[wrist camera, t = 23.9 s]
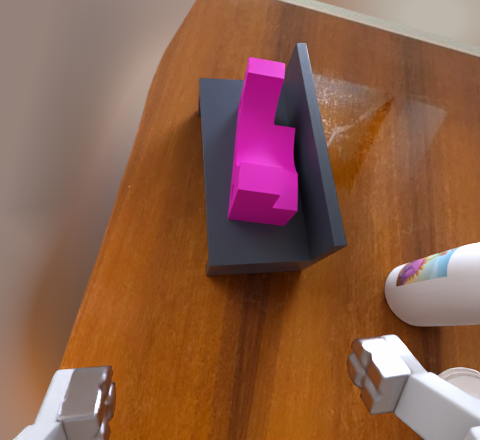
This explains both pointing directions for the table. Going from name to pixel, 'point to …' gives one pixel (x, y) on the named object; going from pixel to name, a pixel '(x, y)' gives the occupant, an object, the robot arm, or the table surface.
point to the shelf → (307, 166)
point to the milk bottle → (437, 289)
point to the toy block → (263, 151)
